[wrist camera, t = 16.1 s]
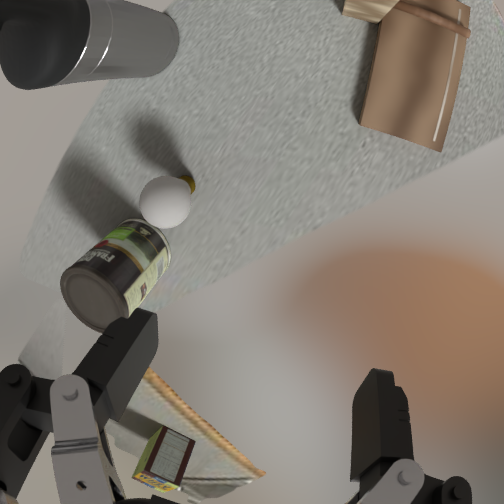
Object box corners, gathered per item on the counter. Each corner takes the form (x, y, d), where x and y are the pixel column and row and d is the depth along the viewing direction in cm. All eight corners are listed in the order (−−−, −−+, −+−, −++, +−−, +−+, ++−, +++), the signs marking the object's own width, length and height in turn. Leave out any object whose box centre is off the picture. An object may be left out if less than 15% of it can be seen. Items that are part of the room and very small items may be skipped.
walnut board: (358, 123, 33) (360, 125, 32) (386, -21, 24) (389, -26, 22) (435, 149, 32) (441, 152, 31) (463, 10, 23) (470, 7, 21)
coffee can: (105, 223, 47) (48, 270, 35) (158, 213, 44) (103, 264, 32) (128, 279, 52) (82, 333, 40) (180, 275, 49) (138, 337, 37)
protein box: (149, 438, 84) (130, 478, 71) (163, 424, 76) (142, 470, 63) (179, 453, 85) (163, 493, 72) (197, 441, 77) (179, 487, 64)
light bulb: (218, 186, 41) (190, 216, 32) (188, 212, 43) (156, 247, 35) (187, 152, 39) (150, 173, 31) (159, 181, 42) (120, 208, 33)
